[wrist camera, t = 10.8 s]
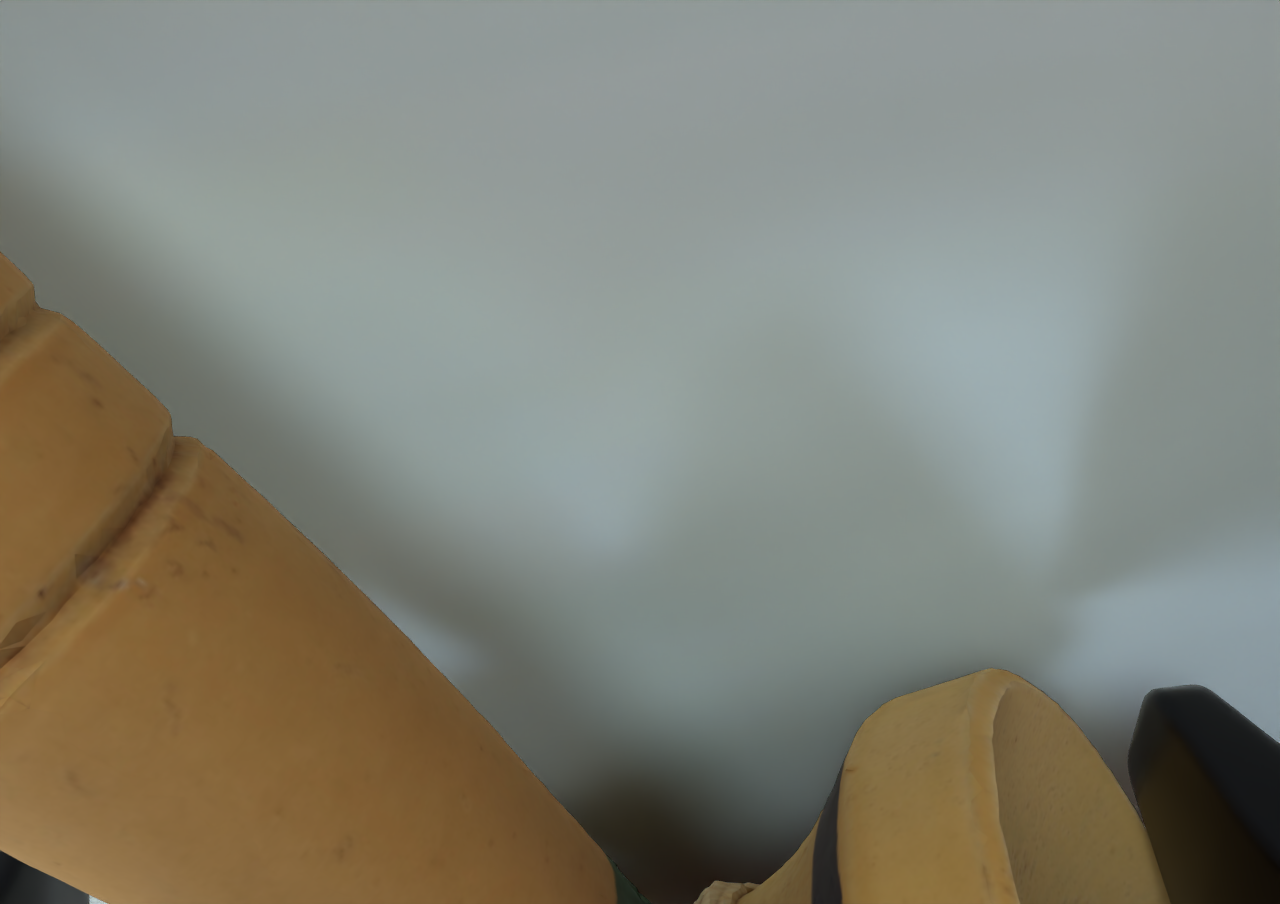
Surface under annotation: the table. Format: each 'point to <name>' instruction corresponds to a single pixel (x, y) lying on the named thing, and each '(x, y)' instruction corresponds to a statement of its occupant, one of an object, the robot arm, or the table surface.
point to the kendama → (397, 711)
